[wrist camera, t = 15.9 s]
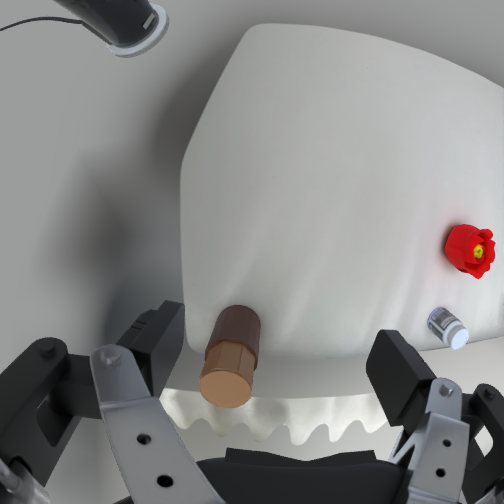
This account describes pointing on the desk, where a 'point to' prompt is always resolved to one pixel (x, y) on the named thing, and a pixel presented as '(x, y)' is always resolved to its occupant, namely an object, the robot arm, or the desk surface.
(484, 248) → the flower
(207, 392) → the brown octagonal prism
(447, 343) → the pill bottle
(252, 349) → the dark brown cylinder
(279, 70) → the desk surface
